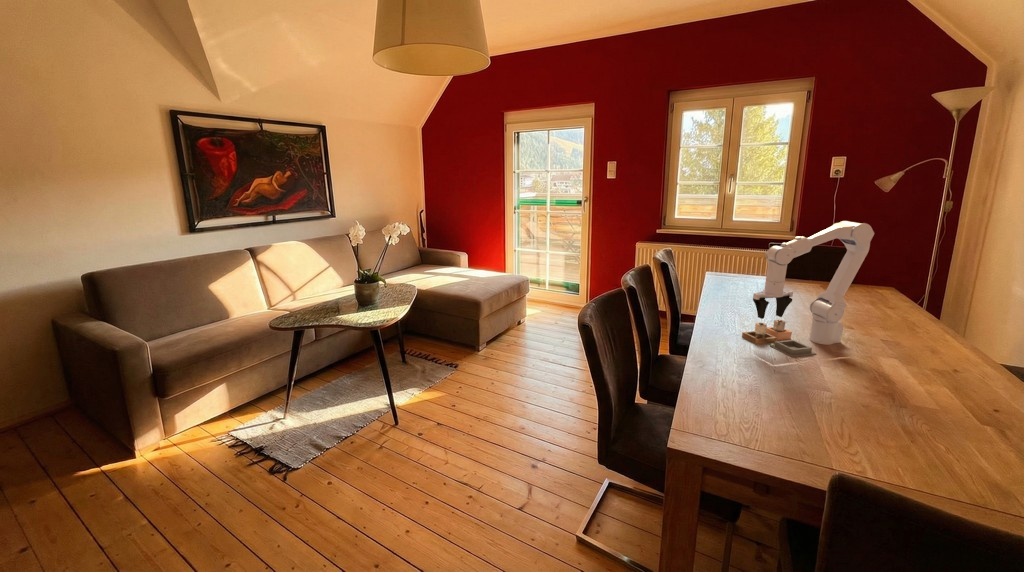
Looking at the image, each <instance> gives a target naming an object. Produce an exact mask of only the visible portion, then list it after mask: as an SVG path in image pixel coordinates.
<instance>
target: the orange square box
mask: <svg viewBox="0 0 1024 572" xmlns="http://www.w3.org/2000/svg"><path fill="white" fill-rule="evenodd" d="M766 333H768V334H770V335H772V336H774V337H776V338H777V340H776V341H785V340H792V335H793V334H792V333H793V331H790V330H788V329H786V328H785V329H784V332H776V331H774V330H773V326H769V327H767V328H766Z"/></svg>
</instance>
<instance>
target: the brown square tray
mask: <svg viewBox="0 0 1024 572" xmlns="http://www.w3.org/2000/svg"><path fill="white" fill-rule="evenodd" d="M754 333H755V330H751V331H743V332H742V334H741V337H742V338H743V339H745V340H747V341H749V342H751V343H753V344H755V345H764V344H775V342H777V341H778V340H777V338H776V337H774V336H772V335H770V334H768V333H766V336H765V338H759V339H758V338H756V337H754Z"/></svg>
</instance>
